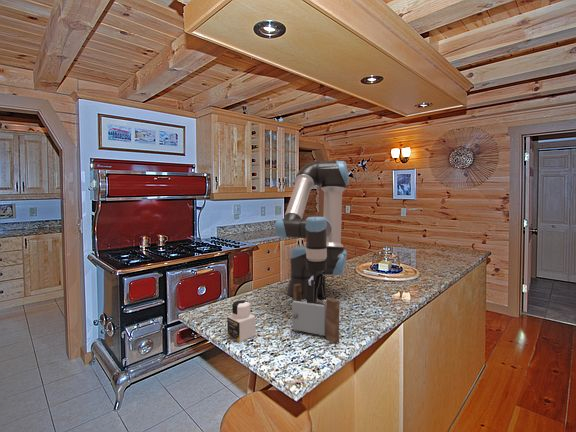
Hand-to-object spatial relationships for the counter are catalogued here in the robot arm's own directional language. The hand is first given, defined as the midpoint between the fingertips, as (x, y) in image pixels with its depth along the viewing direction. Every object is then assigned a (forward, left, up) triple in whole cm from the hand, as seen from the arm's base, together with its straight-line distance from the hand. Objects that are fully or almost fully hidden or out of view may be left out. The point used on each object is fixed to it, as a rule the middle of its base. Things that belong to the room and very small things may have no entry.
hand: (316, 319), depth 120 cm
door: (+7, +5, -2) cm, 8 cm away
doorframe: (+3, +3, -2) cm, 5 cm away
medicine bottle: (+27, -8, -2) cm, 28 cm away
